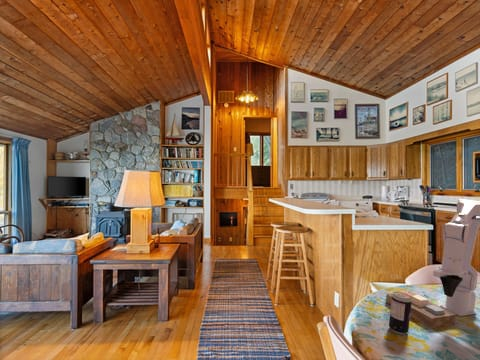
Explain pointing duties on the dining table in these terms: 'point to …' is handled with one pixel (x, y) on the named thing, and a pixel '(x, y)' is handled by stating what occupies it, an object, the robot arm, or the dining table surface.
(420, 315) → the brown slotted tray
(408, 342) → the dining table surface
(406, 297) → the beverage can
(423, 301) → the ivory key
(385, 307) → the dining table surface
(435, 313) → the grey block
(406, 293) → the red key
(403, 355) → the dining table surface
